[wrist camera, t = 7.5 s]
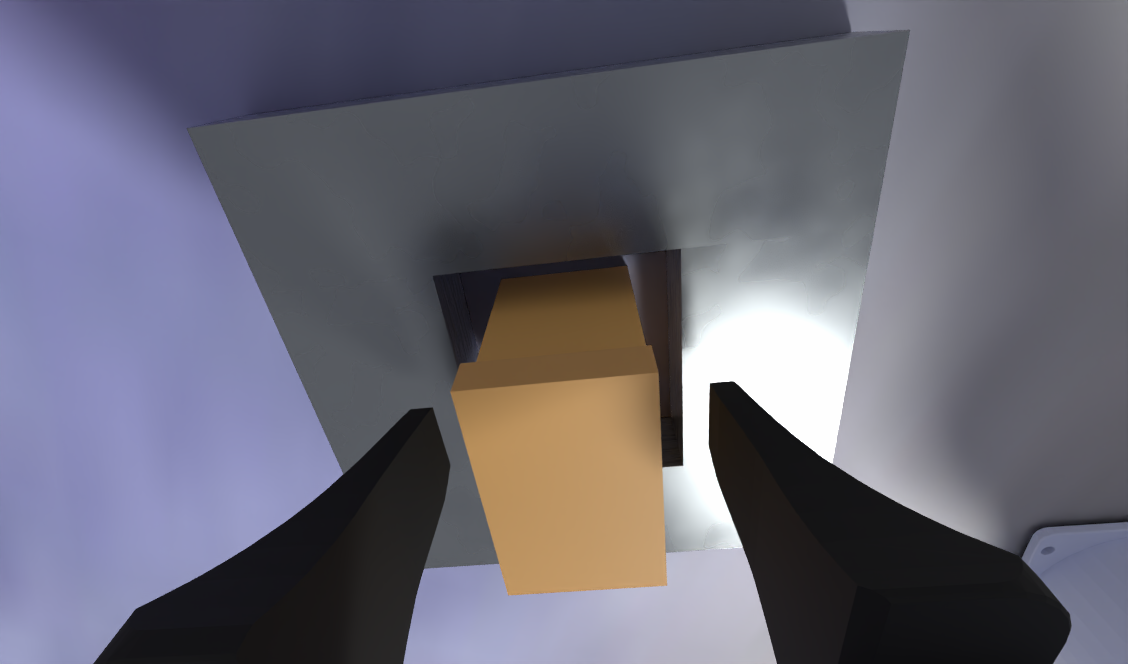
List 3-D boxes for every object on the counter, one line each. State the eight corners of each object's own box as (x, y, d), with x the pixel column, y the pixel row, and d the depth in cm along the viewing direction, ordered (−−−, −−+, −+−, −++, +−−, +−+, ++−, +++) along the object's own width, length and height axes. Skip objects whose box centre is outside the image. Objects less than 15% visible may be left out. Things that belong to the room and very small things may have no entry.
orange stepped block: (636, 409, 19) (667, 585, 13) (529, 418, 19) (508, 594, 13) (625, 244, 16) (658, 372, 10) (497, 258, 16) (450, 392, 10)
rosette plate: (792, 489, 21) (817, 542, 18) (406, 518, 22) (387, 570, 20) (852, 32, 13) (910, 29, 11) (246, 114, 14) (186, 128, 12)
